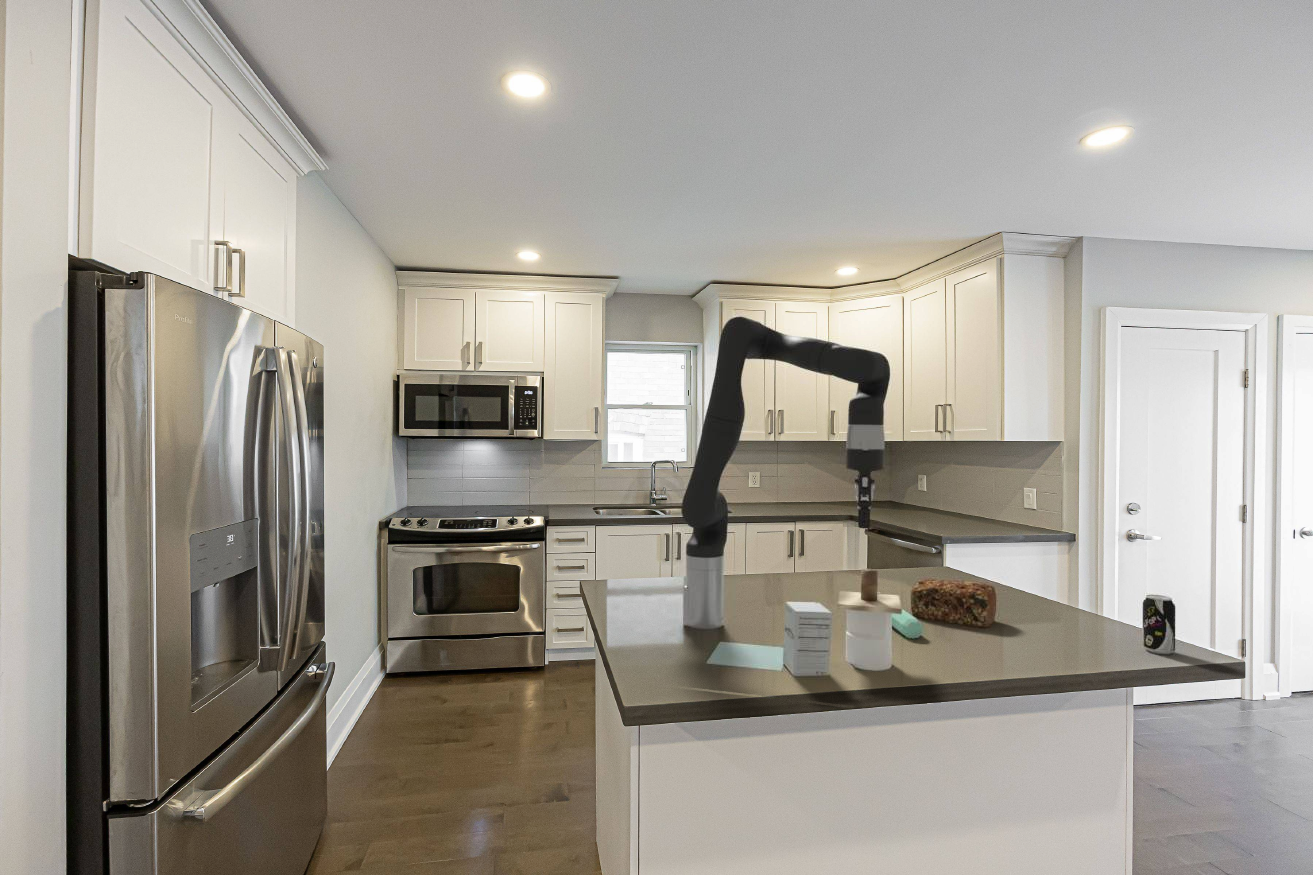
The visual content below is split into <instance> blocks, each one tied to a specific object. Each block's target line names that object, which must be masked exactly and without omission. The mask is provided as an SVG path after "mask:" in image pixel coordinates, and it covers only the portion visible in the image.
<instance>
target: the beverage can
mask: <svg viewBox="0 0 1313 875" xmlns="http://www.w3.org/2000/svg"><path fill="white" fill-rule="evenodd" d="M1141 638H1142V639H1141V640H1142V642H1141V643H1142V644H1141V645H1142V647H1143V648H1144V649H1145V650H1147V651H1148V652H1149V653H1152V654H1158V655H1171V654H1172V653H1174V652H1176V605H1175V603H1174V602H1173V598H1172V597H1171V596H1167V595H1161V594H1147V595H1146V597H1145V599H1144V600H1143V601H1142V637H1141Z"/></svg>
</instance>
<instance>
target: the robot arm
mask: <svg viewBox="0 0 1313 875" xmlns="http://www.w3.org/2000/svg"><path fill="white" fill-rule="evenodd" d="M717 351H718V352H717V358H716V359H717V360H716V366H715V374H714V378H713V382H712V387H711V391H710V396H709V401H708V405H707V409H706V411H705V416H704V421H703V425H702V430H701V434H700V439H699V443H698V446H697V451H696V456H695V462H694V464H693V469H692V472H691V475H690V478H689V481H688V484H687V486H686V490H685V491H684V492H685V493H684V496H683V498H682V502H681V515H682V519H683V522H685V523H686V525H687V526H688V527H691V528H692V534H691V536H690V538H689V539H688V541H687V543H686V545H685V546H686V547H685V585H684V587H683V603H682V604H683V607H682V608H683V609H682V610H683V613H682V614H683V618H682V620H683V621H682V622H683V624H682V626H685V627H689V628H690V627H691V628H694V629H699V630H700V629H701V630H711V629H713V630H715V629H717V628H721V627H723V626H724V579H725V578H724V572H725V571H724V568H725V567H724V566H725V564H724V562H725V560H724V558H725V557H724V556H725V552H724V550H725V546H726V545H727V538H728V523H729V521H728V520H729V507H728V501H727V500H726V497H725V496H724V494H723V493H722V492H721V491H720V490H719V484H720V482H721V479H722V478H721V477H722V474H723V472H724V470H725V468H726V467H727V464H729V461H730V459H731V458H732V457H733V455H734V452H735V450H736V449H737V446H738V444H739V442H740V438H741V434H742V431H743V427H744V426H743V425H744V421H745V416H746V410H745V409H746V408H745V402H744V396H743V388H742V377H743V371H744V367H745V363H746V362H745V361H746V360H769V361H778V362H782V363H787V364H790V365H792V366H794V367H796V368H800V369H803V370H807V371H811V372H814V373H819V374H822V375H827V376H833V377H836V378H838V379H840V380H844V381H847V382H850V383H854V384H857V389H856V394H855V397H853V398H851V399H850V400H849V402H848V411H847V412H848V414H847V418H848V419H847V424H848V425H847V432H846V451H845V452H846V454H845V456H846V457H845V468H846V469H847V470H848V471H857V472H858V475H857V478H854V488H855V500H856V502H857V504H856V505H857V506H856V507H857V509H858V512H857V515H858V517H857V522H858V523H857V524H858V525H857V526H858V528H859V529H869V528H870V527H871V522H870V521H871V509H872V505H873V503H872V501H873V500H874V489H875V485H876V483H875V481H876V480H875V479H874V478H872V475H871V473H872V472H879V471H883V470H885V429H884V422H885V418H884V416H885V409H884V408H885V407H884V405H885V401H886V397H887V393H888V390H889V389H888V388H889V384H890V380H891V379H890V378H891V366H890V362H889V360H888V359H887V357H886V356H885V355H884V354H882V353H880V352H877V351H873V350H869V349H863V348H858V347H853V346H847V345H846V346H845V345H842V344H839V343H836V342H834V341H833V342H831V341H829V340H828V341H827V340H824V339H823V340H822V339H819V338H818V339H817V338H813V337H806V336H793V335H789V334H787V333H786V334H785V333H783V332H780V331H778V330H775V329H774V328H773V329H772V327H769V326H766V325H764V324H763V323H761V322H759V321H757V320H754V319H750V318H748V317H745V316H742V315H735V316H734V317H730V319H729V320H728V321H726V323H725V324H724V326H723V328H722V330H721V333H720V338H719V344H718V350H717Z"/></svg>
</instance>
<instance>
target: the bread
mask: <svg viewBox="0 0 1313 875" xmlns="http://www.w3.org/2000/svg"><path fill="white" fill-rule="evenodd" d="M995 590H996V588H995V587H994V586H993V585H990V584H988V583H984V582H977V581H967V580H966V581H965V580H947V579H934V578H926V579H925V578H924V579H921V580H918V581H917V582H915V584H914V586H913V587H912V588H911V590H910V610H911V615H912V616H913V617H915V618H922V619H926V620H931V619H932V621H935V622H943V623H948V622H949V623H950V624H954V623H955V624H957V623H958V624H959V625H963V626H968V627H974V628H975V627H976V628H978V627H980V628H988V627H989V626H991V625H993V623H994V622H995V618H996V612H997V594H996V591H995ZM958 624H957V625H958Z"/></svg>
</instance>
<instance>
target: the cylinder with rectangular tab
mask: <svg viewBox="0 0 1313 875" xmlns="http://www.w3.org/2000/svg"><path fill="white" fill-rule="evenodd" d="M845 612H846V617H845V618H846V621H845V622H846V626H845V628H846V629H845V660H846V662H848V663H849V664H851V665H853V666H852V667H853V668H856V669H861V670H865V671H885V670H888V669H890V668H892V665H893V664H892V663H893V662H892V660H893V659H892V656H893V654H892V652H893V627H892V613H882V612H870V611H857V610H846V611H845Z"/></svg>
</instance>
